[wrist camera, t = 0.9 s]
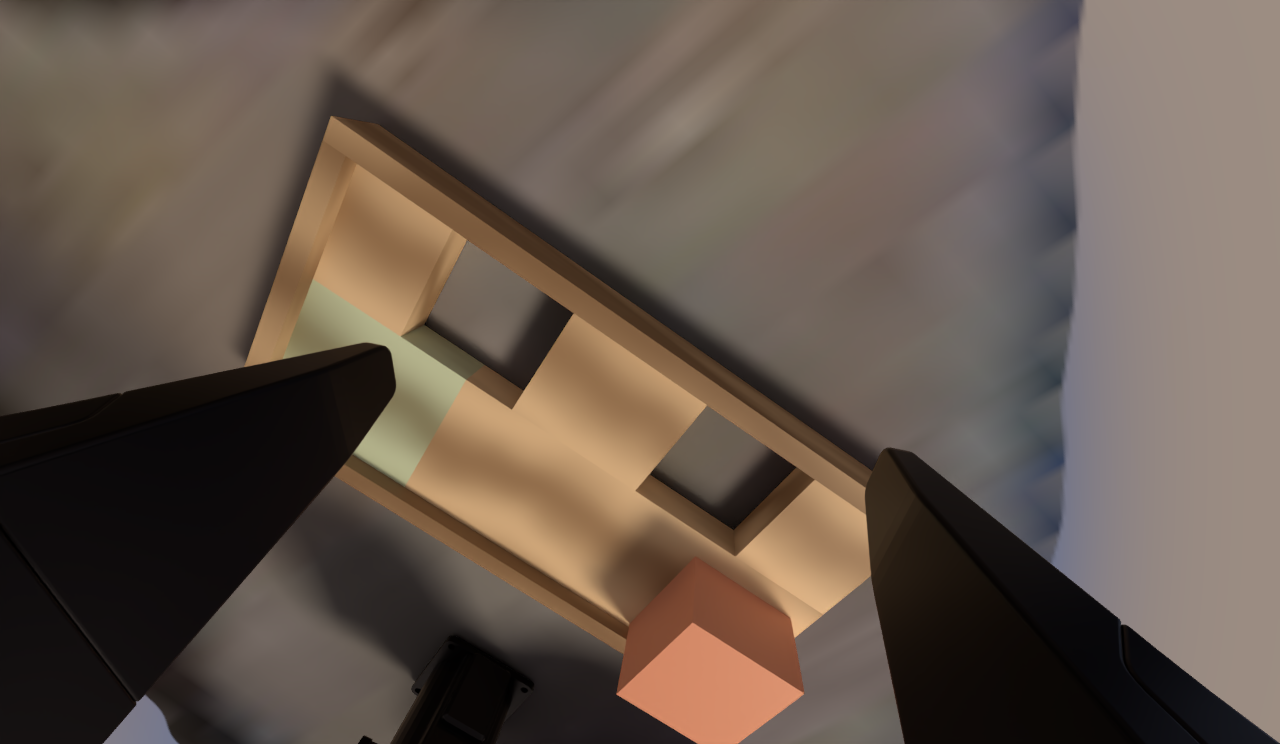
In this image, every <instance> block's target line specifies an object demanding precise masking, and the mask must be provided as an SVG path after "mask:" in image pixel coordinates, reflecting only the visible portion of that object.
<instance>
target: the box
mask: <svg viewBox="0 0 1280 744" xmlns="http://www.w3.org/2000/svg"><path fill="white" fill-rule="evenodd" d="M467 240H468V241H470V242H471V243H473V244H474V245H476V246H477V247H478V248H480V249H481V250H483V251H484V252H486V253H487V254H489V255H490V256H491V257H493V258H494V259H496V260H497V261H499V262H500V263H502V264H503V265H505V266H506V267H507V268H509V269H510V270H512V271H513V272H515V273H516V274H518V275H519V276H520V277H522V278H523V279H525V280H526V281H528V282H529V283H531V284H532V285H534V286H535V287H536V288H538V289H539V290H541V291H542V292H544V293H545V294H547V295H548V296H549V297H551V298H552V299H554V300H555V301H557V302H558V303H560V304H561V305H563V306H564V307H565V308H567V309H568V310H570V311H571V312H573V313H574V314H573V315H572V317H571V318H570V320H569V321H568V323H567V325H566V326H565V328H564V329H563V331H562V332H561V334H560V336H559V337H558V339H557V340H556V342H555V343H554V345H553V346H552V348H551V350H550V351H549V353H548V354H547V356H546V357H545V359H544V361H543V362H542V364H541V365H540V367H539V368H538V370H537V371H536V373H535V375H534V376H533V378H532V379H531V381H530V382H529V384H528V386H527V387H526V389H525V390H524V391H523V390H522V389H520V388H519V387H517V386H516V385H514V384H513V383H511V382H510V381H508V380H507V379H505V378H504V377H502V376H501V375H499V374H498V373H496V372H495V371H493V370H491V369H490V368H488V367H487V366H485V365H484V364H482V363H481V362H479V361H478V360H476V359H475V358H473V357H472V356H470V355H469V354H467V353H466V352H464V351H463V350H461V349H460V348H458V347H457V346H455V345H454V344H452V343H451V342H449V341H448V340H446V339H445V338H443V337H442V336H440V335H439V334H437V333H436V332H434V331H433V330H431V329H430V328H428V327H427V326H425V325H424V324H425V322H426V320H427V318H428V316H429V315H430V313H431V311H432V309H433V307H434V305H435V303H436V301H437V299H438V297H439V295H440V293H441V291H442V289H443V287H444V285H445V283H446V281H447V279H448V277H449V275H450V273H451V271H452V269H453V267H454V265H455V263H456V261H457V259H458V257H459V255H460V253H461V251H462V249H463V247H464V245H465V243H466V241H467ZM364 342H369V343H374V344H379V345H383V346H386V347H387V348H389V350H390V351H391V354H392V360H393V366H394V372H395V378H396V391H395V394H394V396H393V398H392V399H391V401H390V402H389V403H388V405H387V406H386V408H385V409H384V411H383V412H382V413H381V415H380V416H379V418H378V419H377V420H376V422H375V423H374V425H373V426H372V428H371V429H370V430H369V432H368V433H367V435H366V436H365V438H364V439H363V440H362V442H361V443H360V445H359V446H358V447H357V449H356V450H355V452H354V453H353V454H352V456H351V457H350V458H349V459H348V461H347V462H346V463H345V464H344V465H343V467H342V468H341V469H340V470H339V471H338V473H337V474H336V475H335V476H336V477H337V478H339V479H340V480H342V481H344V482H345V483H347V484H348V485H350V486H352V487H353V488H355V489H357V490H358V491H360V492H361V493H363V494H365V495H366V496H368V497H370V498H371V499H373V500H374V501H376V502H378V503H379V504H381V505H382V506H384V507H386V508H387V509H389V510H391V511H392V512H394V513H395V514H397V515H399V516H400V517H402V518H404V519H405V520H407V521H408V522H410V523H412V524H413V525H415V526H417V527H418V528H420V529H421V530H423V531H425V532H426V533H428V534H429V535H431V536H433V537H434V538H436V539H438V540H439V541H441V542H442V543H444V544H446V545H447V546H449V547H451V548H452V549H454V550H455V551H457V552H459V553H460V554H462V555H463V556H465V557H467V558H468V559H470V560H472V561H473V562H475V563H476V564H478V565H480V566H481V567H483V568H485V569H486V570H488V571H489V572H491V573H493V574H494V575H496V576H497V577H499V578H501V579H502V580H504V581H506V582H507V583H509V584H510V585H512V586H514V587H515V588H517V589H519V590H520V591H522V592H523V593H525V594H527V595H528V596H530V597H532V598H533V599H535V600H536V601H538V602H540V603H541V604H543V605H544V606H546V607H548V608H549V609H551V610H553V611H554V612H556V613H557V614H559V615H561V616H562V617H564V618H566V619H567V620H569V621H570V622H572V623H574V624H575V625H577V626H578V627H580V628H582V629H583V630H585V631H587V632H588V633H590V634H591V635H593V636H595V637H596V638H598V639H600V640H601V641H603V642H604V643H606V644H608V645H609V646H611V647H613V648H614V649H616V650H617V651H619V652H621V653H622V654H624V651H625V645H626V640H627V635H628V629H629V624H630V623H631V622H632V620H633V619H634V618H635V617H636V616H637V615H638V614H639V613H640V612H641V611H642V610H643V609H644V608H645V607H646V606H647V605H648V604H649V603H650V602H651V601H652V600H653V599H654V598H655V597H656V596H657V595H658V594H659V593H660V592H661V591H662V590H663V589H664V588H665V587H666V586H667V585H668V584H669V583H670V582H671V581H672V580H673V579H674V578H675V577H676V576H677V575H678V574H679V573H680V572H681V571H682V569H683V568H684V567H685V566H686V565H687V564H688V563H689V562H690V561H691V560H692V559H693V558H694V557H695V556H696V557H697V558H699V559H701V560H702V561H704V562H705V563H707V564H708V565H710V566H711V567H713V568H714V569H716V570H717V571H719V572H721V573H722V574H724V575H725V576H727V577H728V578H730V579H731V580H733V581H734V582H736V583H737V584H739V585H740V586H742V587H744V588H745V589H747V590H748V591H750V592H751V593H753V594H754V595H756V596H757V597H759V598H760V599H762V600H763V601H765V602H767V603H768V604H770V605H771V606H773V607H774V608H776V609H777V610H779V611H780V612H782V613H783V614H785V615H787V616H788V617H790V618H791V622H792V628H793V633H794V638H795V637H796V636H797V635H799V634H800V633H801V632H802V631H804V630H805V629H806V628H807V627H808V626H810V625H811V624H812V623H813V622H815V621H816V620H817V619H818V618H820V617H821V616H822V615H823V614H824V613H826V612H827V611H828V610H829V609H831V608H832V607H833V606H834V605H835V604H837V603H838V602H839V601H840V600H842V599H843V598H844V597H845V596H846V595H848V594H849V593H850V592H851V591H853V590H854V589H855V588H856V587H858V586H859V585H860V584H861V583H862V582H864V581H865V580H866V579H867V578H869V577H870V576H871V570H870V558H869V546H868V533H867V521H866V508H865V489H866V485H867V482H868V480H869V478H870V476H871V473H872V471H871V470H870V469H869V468H867V467H866V466H864V465H863V464H861V463H860V462H859V461H857V460H856V459H854V458H853V457H851V456H850V455H849V454H847V453H846V452H844V451H843V450H842V449H840V448H839V447H837V446H836V445H834V444H833V443H832V442H830V441H829V440H827V439H826V438H824V437H823V436H822V435H820V434H819V433H817V432H816V431H814V430H813V429H812V428H810V427H809V426H807V425H806V424H804V423H803V422H802V421H800V420H799V419H797V418H796V417H794V416H793V415H792V414H790V413H789V412H787V411H786V410H785V409H783V408H782V407H780V406H779V405H777V404H776V403H775V402H773V401H772V400H770V399H769V398H767V397H766V396H765V395H763V394H762V393H760V392H759V391H757V390H756V389H755V388H753V387H752V386H750V385H749V384H747V383H746V382H745V381H743V380H742V379H740V378H739V377H738V376H736V375H735V374H733V373H732V372H730V371H729V370H728V369H726V368H725V367H723V366H722V365H720V364H719V363H718V362H716V361H715V360H713V359H712V358H710V357H709V356H708V355H706V354H705V353H703V352H702V351H700V350H699V349H698V348H696V347H695V346H693V345H692V344H690V343H689V342H688V341H686V340H685V339H683V338H682V337H681V336H679V335H678V334H676V333H675V332H673V331H672V330H671V329H669V328H668V327H666V326H665V325H663V324H662V323H661V322H659V321H658V320H656V319H655V318H653V317H652V316H651V315H649V314H648V313H646V312H645V311H643V310H642V309H641V308H639V307H638V306H636V305H635V304H634V303H632V302H631V301H629V300H628V299H626V298H625V297H624V296H622V295H621V294H619V293H618V292H616V291H615V290H614V289H612V288H611V287H609V286H608V285H606V284H605V283H604V282H602V281H601V280H599V279H598V278H596V277H595V276H594V275H592V274H591V273H589V272H588V271H586V270H585V269H584V268H582V267H581V266H579V265H578V264H577V263H575V262H574V261H572V260H571V259H569V258H568V257H567V256H565V255H564V254H562V253H561V252H559V251H558V250H557V249H555V248H554V247H552V246H551V245H549V244H548V243H547V242H545V241H544V240H542V239H541V238H539V237H538V236H537V235H535V234H534V233H532V232H531V231H530V230H528V229H527V228H525V227H524V226H522V225H521V224H520V223H518V222H517V221H515V220H514V219H512V218H511V217H510V216H508V215H507V214H505V213H504V212H502V211H501V210H500V209H498V208H497V207H495V206H494V205H492V204H491V203H490V202H488V201H487V200H485V199H484V198H482V197H481V196H480V195H478V194H477V193H475V192H474V191H473V190H471V189H470V188H468V187H467V186H465V185H464V184H463V183H461V182H460V181H458V180H457V179H455V178H454V177H453V176H451V175H450V174H448V173H447V172H445V171H444V170H443V169H441V168H440V167H438V166H437V165H435V164H434V163H433V162H431V161H430V160H428V159H427V158H426V157H424V156H423V155H421V154H420V153H418V152H417V151H416V150H414V149H413V148H411V147H410V146H408V145H407V144H406V143H404V142H403V141H401V140H400V139H398V138H397V137H396V136H394V135H393V134H391V133H390V132H388V131H387V130H386V129H384V128H383V127H381V126H380V125H378V124H374V123H369V122H363V121H358V120H352V119H347V118H341V117H336V116H331V118H330V121H329V124H328V126H327V129H326V132H325V135H324V138H323V141H322V144H321V147H320V150H319V152H318V155H317V158H316V161H315V164H314V167H313V170H312V173H311V176H310V178H309V181H308V184H307V187H306V190H305V193H304V196H303V199H302V202H301V205H300V207H299V210H298V213H297V216H296V219H295V222H294V225H293V228H292V231H291V233H290V236H289V239H288V242H287V245H286V248H285V251H284V254H283V257H282V259H281V262H280V265H279V268H278V271H277V274H276V277H275V280H274V283H273V286H272V288H271V291H270V294H269V297H268V300H267V303H266V306H265V309H264V312H263V314H262V317H261V320H260V323H259V326H258V329H257V332H256V335H255V338H254V340H253V343H252V346H251V349H250V352H249V355H248V358H247V361H246V364H245V367H247V366H252V365H257V364H262V363H267V362H271V361H276V360H281V359H286V358H291V357H296V356H300V355H305V354H310V353H315V352H320V351H325V350H330V349H334V348H339V347H344V346H349V345H354V344H359V343H364ZM706 406H709V407H710V408H712V409H713V410H715V411H716V412H718V413H719V414H721V415H722V416H723V417H725V418H726V419H728V420H729V421H731V422H732V423H734V424H735V425H736V426H738V427H739V428H741V429H742V430H744V431H745V432H747V433H748V434H750V435H751V436H752V437H754V438H755V439H757V440H758V441H760V442H761V443H763V444H764V445H765V446H767V447H768V448H770V449H771V450H773V451H774V452H776V453H777V454H779V455H780V456H781V457H783V458H784V459H786V460H787V461H789V462H790V463H792V464H793V465H794V466H796V468H795V469H794V470H793V471H792V472H791V473H790V474H789V475H788V476H787V477H786V478H785V479H784V480H783V481H782V482H781V483H780V484H779V485H778V486H777V487H776V488H775V489H774V490H773V491H772V492H771V493H770V494H769V495H768V496H767V497H766V498H765V499H764V500H763V501H762V502H761V503H760V504H759V505H758V506H757V507H756V508H755V509H754V510H753V511H752V512H751V513H750V514H749V515H748V516H747V517H746V518H745V519H744V520H743V521H742V522H741V523H740V524H739V525H738V526H737V527H736V528H735V529H734V530H732V529H731V528H729V527H728V526H726V525H725V524H723V523H722V522H720V521H719V520H717V519H716V518H714V517H713V516H711V515H710V514H708V513H707V512H705V511H704V510H702V509H701V508H699V507H698V506H696V505H695V504H693V503H692V502H690V501H689V500H687V499H686V498H684V497H683V496H681V495H680V494H678V493H677V492H675V491H674V490H672V489H671V488H669V487H668V486H666V485H665V484H663V483H662V482H660V481H659V480H657V479H656V478H654V477H653V476H651V475H650V473H651V471H652V470H653V469H654V468H655V467H656V466H657V464H658V463H659V462H660V461H661V460H662V458H663V457H664V456H665V455H666V454H667V452H668V451H669V450H670V449H671V448H672V446H673V445H674V444H675V443H676V442H677V440H678V439H679V438H680V437H681V436H682V435H683V433H684V432H685V431H686V430H687V429H688V427H689V426H690V425H691V424H692V423H693V421H694V420H695V419H696V418H697V417H698V415H699V414H700V413H701V412H702V411H703V409H704V408H705V407H706Z"/></svg>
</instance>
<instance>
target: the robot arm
mask: <svg viewBox="0 0 1280 744" xmlns="http://www.w3.org/2000/svg"><path fill="white" fill-rule="evenodd" d="M395 391H396V378H395V372H394V366H393V360H392V354H391V351H390V350H389V348H387V347H386V346H383V345H379V344H374V343H369V342H364V343H359V344H354V345H349V346H344V347H339V348H334V349H330V350H325V351H320V352H315V353H310V354H305V355H300V356H296V357H291V358H286V359H281V360H276V361H271V362H267V363H262V364H257V365H252V366H247V367H242V368H238V369H233V370H228V371H223V372H218V373H213V374H208V375H204V376H199V377H194V378H189V379H184V380H179V381H175V382H170V383H165V384H160V385H155V386H150V387H145V388H141V389H136V390H131V391H126V392H124V393H123V394H120V393H116V394H111V395H106V396H101V397H97V398H92V399H87V400H82V401H77V402H72V403H67V404H62V405H57V406H51V407H46V408H41V409H36V410H31V411H25V412H20V413H14V414H9V415H3V416H0V744H103V743H104V741H105V740H106V739H107V738H108V737H109V736H110V735H111V734H112V732H113V731H114V730H115V729H116V728H117V727H118V725H119V724H120V723H121V722H122V721H123V720H124V718H125V717H126V716H127V715H128V714H129V713H130V712H131V710H132V709H133V708H134V707H135V706H136V701H139V700H140V699H141V698H142V697H143V696H144V695H145V694H146V693H147V691H148V690H149V689H150V688H151V687H152V686H153V684H154V683H155V682H156V681H157V680H158V679H159V678H160V676H161V675H162V674H163V673H164V672H165V671H166V670H167V668H168V667H169V666H170V665H171V664H172V663H173V661H174V660H175V659H176V658H177V657H178V656H179V655H180V653H181V652H182V651H183V650H184V649H185V648H186V646H187V645H188V644H189V643H190V642H191V641H192V640H193V638H194V637H195V636H196V635H197V634H198V633H199V632H200V630H201V629H202V628H203V627H204V626H205V625H206V623H207V622H208V621H209V620H210V619H211V618H212V617H213V615H214V614H215V613H216V612H217V611H218V610H219V608H220V607H221V606H222V605H223V604H224V603H225V602H226V600H227V599H228V598H229V597H230V596H231V595H232V593H233V592H234V591H235V590H236V589H237V588H238V587H239V585H240V584H241V583H242V582H243V581H244V580H245V579H246V577H247V576H248V575H249V574H250V573H251V572H252V570H253V569H254V568H255V567H256V566H257V565H258V564H259V562H260V561H261V560H262V559H263V558H264V557H265V555H266V554H267V553H268V552H269V551H270V550H271V549H272V547H273V546H274V545H275V544H276V543H277V542H278V541H279V539H280V538H281V537H282V536H283V535H284V534H285V532H286V531H287V530H288V529H289V528H290V527H291V526H292V524H293V523H294V522H295V521H296V520H297V519H298V517H299V516H300V515H301V514H302V513H303V512H304V511H305V509H306V508H307V507H308V506H309V505H310V504H311V502H312V501H313V500H314V499H315V498H316V497H317V496H318V494H319V493H320V492H321V491H322V490H323V489H324V488H325V486H326V485H327V484H328V483H329V482H330V481H331V479H332V478H333V477H334V476H335V475H336V474H337V473H338V471H339V470H340V469H341V468H342V467H343V465H344V464H345V463H346V462H347V461H348V459H349V458H350V457H351V456H352V454H353V453H354V452H355V450H356V449H357V447H358V446H359V445H360V443H361V442H362V440H363V439H364V438H365V436H366V435H367V433H368V432H369V430H370V429H371V428H372V426H373V425H374V423H375V422H376V420H377V419H378V418H379V416H380V415H381V413H382V412H383V411H384V409H385V408H386V406H387V405H388V403H389V402H390V401H391V399H392V398H393V396H394V394H395ZM865 508H866V521H867V533H868V546H869V558H870V570H871V579H872V585H873V590H874V596H875V601H876V606H877V610H878V615H879V620H880V625H881V630H882V635H883V640H884V645H885V650H886V655H887V659H888V664H889V669H890V674H891V679H892V684H893V689H894V694H895V699H896V704H897V709H898V713H899V718H900V723H901V728H902V733H903V738H904V743H905V744H1280V743H1278V742H1277V741H1276V740H1275V739H1273V738H1272V737H1270V736H1269V735H1268V734H1267V733H1265V732H1264V731H1263V730H1261V729H1260V728H1258V727H1257V726H1256V725H1255V724H1253V723H1252V722H1250V721H1249V720H1248V719H1246V718H1245V717H1244V716H1243V715H1241V714H1240V713H1239V712H1237V711H1236V710H1235V709H1233V708H1232V707H1231V706H1229V705H1228V704H1227V703H1225V702H1224V701H1223V700H1221V699H1220V698H1218V697H1217V696H1216V695H1215V694H1213V693H1212V692H1211V691H1209V690H1208V689H1207V688H1206V687H1204V686H1203V685H1202V684H1200V683H1199V682H1198V681H1197V680H1195V679H1194V678H1193V677H1192V676H1190V675H1189V674H1188V673H1186V672H1185V671H1184V670H1182V669H1181V668H1180V667H1179V666H1178V665H1176V664H1175V663H1174V662H1173V661H1171V660H1170V659H1169V658H1167V657H1166V656H1165V655H1164V654H1162V653H1161V652H1160V651H1158V650H1157V649H1156V648H1155V647H1153V646H1152V645H1151V644H1150V643H1149V642H1147V641H1146V640H1145V639H1144V638H1143V637H1141V636H1140V635H1139V634H1138V633H1136V632H1135V631H1134V630H1133V629H1131V628H1130V627H1129V626H1127V625H1121V621H1120V619H1118V617H1116V616H1115V615H1114V614H1112V613H1111V612H1110V611H1109V610H1107V609H1106V608H1105V607H1104V606H1103V605H1101V604H1100V603H1099V602H1098V601H1096V600H1095V599H1094V598H1093V597H1091V596H1090V595H1089V594H1088V593H1086V592H1085V591H1084V590H1083V589H1082V588H1080V587H1079V586H1078V585H1077V584H1075V583H1074V582H1073V581H1072V580H1070V579H1069V578H1068V577H1067V576H1065V575H1064V574H1063V573H1062V572H1060V571H1059V570H1058V569H1057V568H1055V567H1054V566H1053V565H1052V564H1050V563H1049V562H1048V561H1047V560H1045V559H1044V558H1043V557H1042V556H1041V555H1039V554H1038V553H1037V552H1036V551H1034V550H1033V549H1032V548H1031V547H1029V546H1028V545H1027V544H1026V543H1024V542H1023V541H1022V540H1021V539H1019V538H1018V537H1017V536H1016V535H1014V534H1013V533H1012V532H1011V531H1009V530H1008V529H1007V528H1006V527H1004V526H1003V525H1002V524H1001V523H1000V522H998V521H997V520H996V519H995V518H993V517H992V516H991V515H990V514H988V513H987V512H986V511H985V510H983V509H982V508H981V507H980V506H978V505H977V504H976V503H975V502H973V501H972V500H971V499H970V498H968V497H967V496H966V495H965V494H964V493H962V492H961V491H960V490H959V489H957V488H956V487H955V486H954V485H952V484H951V483H950V482H949V481H947V480H946V479H945V478H944V477H942V476H941V475H940V474H939V473H937V472H936V471H935V470H934V469H932V468H931V467H930V466H929V465H928V464H926V463H925V462H924V461H923V460H921V459H920V458H919V457H918V456H916V455H915V454H914V453H912V452H909V451H905V450H900V449H895V448H886V449H884V450H883V451H882V452H881V454H880V456H879V458H878V460H877V462H876V465H875V467H874V469H873V471H872V473H871V476H870V478H869V480H868V482H867V485H866V489H865ZM533 687H534V684H533V683H532V682H531V681H530V680H528V679H527V678H525V677H523V676H522V675H520V674H518V673H517V672H515V671H513V670H512V669H510V668H508V667H507V666H505V665H503V664H502V663H500V662H498V661H497V660H495V659H493V658H492V657H490V656H488V655H487V654H485V653H483V652H482V651H480V650H478V649H477V648H475V647H473V646H472V645H470V644H468V643H467V642H465V641H463V640H462V639H460V638H458V637H456V636H450V637H448V639H447V640H446V641H445V643H444V644H443V645H442V647H441V648H440V649H439V651H438V652H437V653H436V655H435V656H434V657H433V659H432V660H431V661H430V663H429V664H428V665H427V667H426V668H425V669H424V671H423V672H422V673H421V675H420V676H419V677H418V679H417V680H416V681H415V683H414V684H413V686H412V688H411V690H412V692H413V693H414V694H415V695H417V698H416V700H415V701H414V703H413V705H412V707H411V708H410V710H409V712H408V714H407V715H406V717H405V719H404V721H403V722H402V724H401V726H400V727H399V729H398V731H397V733H396V734H395V736H394V738H393V740H392V741H391V743H390V744H495V743H496V741H497V738H498V736H499V733H500V731H501V728H502V725H503V723H504V722H505V721H506V720H507V719H508V718H509V717H510V716H511V715H512V714H513V713H514V712H515V711H516V709H517V708H518V707H519V706H520V705H521V704H522V703H523V702H524V701H525V700H526V699H527V698H528V697H529V696H530V694H531V693H532V690H533ZM358 744H377V743H375V742H373V741H372V739H371V738H369V737H367V736H363V737H362V739H361V740H360V741H359V743H358Z"/></svg>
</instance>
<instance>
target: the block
mask: <svg viewBox="0 0 1280 744" xmlns="http://www.w3.org/2000/svg"><path fill="white" fill-rule="evenodd" d="M616 694H617V695H618V696H620V697H622V698H623V699H625V700H627V701H628V702H630V703H631V704H633V705H635V706H636V707H638V708H640V709H641V710H643V711H645V712H646V713H648V714H650V715H651V716H653V717H655V718H656V719H658V720H659V721H661V722H663V723H664V724H666V725H668V726H669V727H671V728H673V729H674V730H676V731H678V732H679V733H681V734H683V735H684V736H686V737H688V738H689V739H691V740H692V741H694V742H696V743H697V744H738V743H739V742H740V741H742V740H743V739H744V738H746V737H747V736H748V735H750V734H751V733H752V732H754V731H755V730H756V729H758V728H759V727H761V726H762V725H763V724H765V723H766V722H767V721H769V720H770V719H771V718H773V717H774V716H775V715H777V714H778V713H779V712H781V711H782V710H783V709H785V708H786V707H787V706H789V705H790V704H791V703H793V702H794V701H795V700H797V699H798V698H799V697H801V696H802V695H803V694H805V693H804V688H803V683H802V677H801V672H800V666H799V661H798V655H797V650H796V644H795V639H794V633H793V628H792V622H791V618H790V617H788V616H787V615H785V614H783V613H782V612H780V611H779V610H777V609H776V608H774V607H773V606H771V605H770V604H768V603H767V602H765V601H763V600H762V599H760V598H759V597H757V596H756V595H754V594H753V593H751V592H750V591H748V590H747V589H745V588H744V587H742V586H740V585H739V584H737V583H736V582H734V581H733V580H731V579H730V578H728V577H727V576H725V575H724V574H722V573H721V572H719V571H717V570H716V569H714V568H713V567H711V566H710V565H708V564H707V563H705V562H704V561H702V560H701V559H699V558H697V557H696V556H695V557H694V558H693V559H692V560H691V561H690V562H689V563H688V564H687V565H686V566H685V567H684V568H683V569H682V571H681V572H680V573H679V574H678V575H677V576H676V577H675V578H674V579H673V580H672V581H671V582H670V583H669V584H668V585H667V586H666V587H665V588H664V589H663V590H662V591H661V592H660V593H659V594H658V595H657V596H656V597H655V598H654V599H653V600H652V601H651V602H650V603H649V604H648V605H647V606H646V607H645V608H644V609H643V610H642V611H641V612H640V613H639V614H638V615H637V616H636V617H635V618H634V619H633V620H632V622H631V623H630V624H629V629H628V635H627V640H626V645H625V651H624V656H623V661H622V667H621V672H620V677H619V683H618V688H617V693H616Z"/></svg>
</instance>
